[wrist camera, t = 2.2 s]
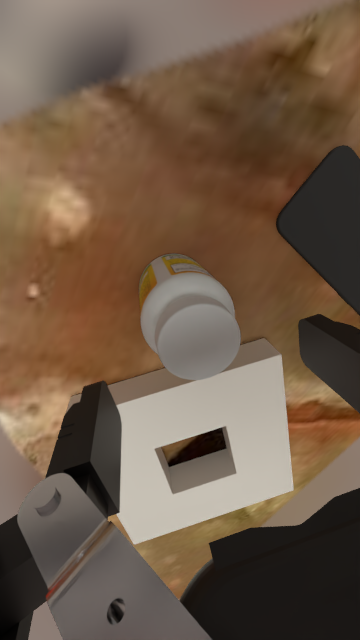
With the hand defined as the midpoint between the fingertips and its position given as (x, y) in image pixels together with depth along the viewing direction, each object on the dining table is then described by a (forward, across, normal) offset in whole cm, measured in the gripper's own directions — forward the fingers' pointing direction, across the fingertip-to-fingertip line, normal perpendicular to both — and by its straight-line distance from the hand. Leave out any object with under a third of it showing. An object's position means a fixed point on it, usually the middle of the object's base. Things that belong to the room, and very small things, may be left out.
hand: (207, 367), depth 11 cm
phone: (+12, -16, +1) cm, 20 cm away
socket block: (+11, +2, +16) cm, 20 cm away
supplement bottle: (+12, 0, 0) cm, 12 cm away
